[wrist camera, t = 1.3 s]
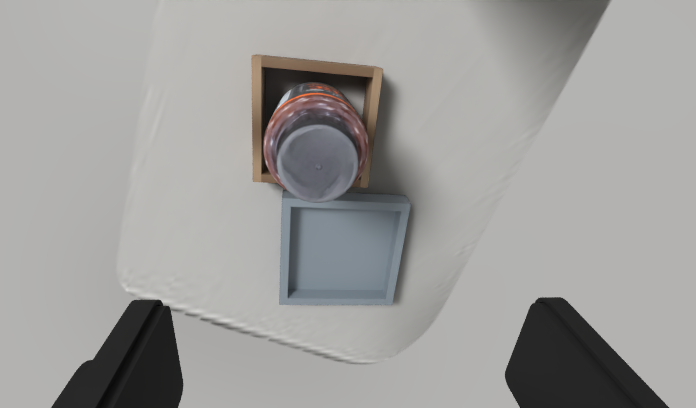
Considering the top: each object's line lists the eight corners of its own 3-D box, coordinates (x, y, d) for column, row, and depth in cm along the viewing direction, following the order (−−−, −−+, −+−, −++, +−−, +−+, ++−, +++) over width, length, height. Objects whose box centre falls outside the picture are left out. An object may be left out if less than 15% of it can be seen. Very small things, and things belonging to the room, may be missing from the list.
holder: (256, 54, 25) (251, 55, 23) (376, 66, 26) (383, 68, 24) (256, 170, 28) (252, 181, 26) (362, 176, 30) (367, 187, 27)
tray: (283, 189, 29) (281, 198, 28) (405, 195, 31) (410, 204, 29) (280, 291, 33) (279, 304, 32) (387, 292, 35) (392, 305, 33)
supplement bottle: (365, 99, 27) (402, 133, 17) (335, 168, 29) (351, 237, 19) (290, 66, 25) (280, 81, 15) (264, 141, 28) (240, 200, 17)
